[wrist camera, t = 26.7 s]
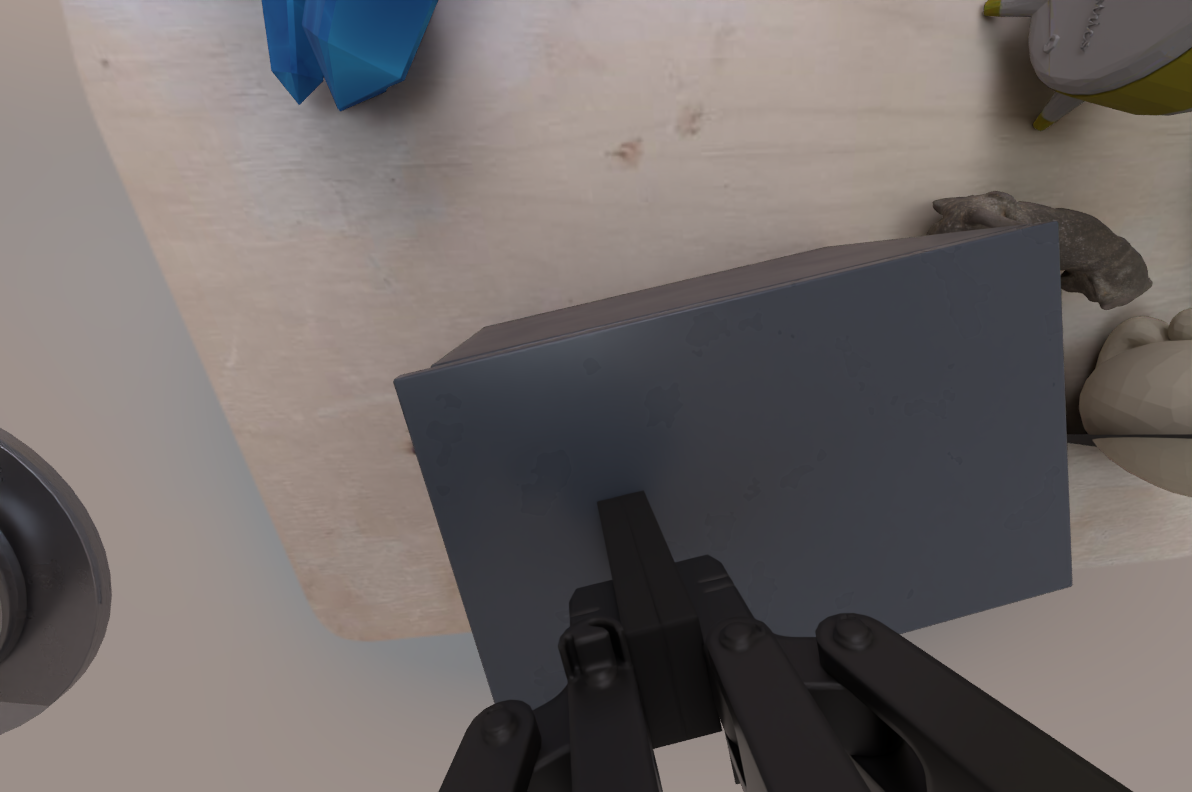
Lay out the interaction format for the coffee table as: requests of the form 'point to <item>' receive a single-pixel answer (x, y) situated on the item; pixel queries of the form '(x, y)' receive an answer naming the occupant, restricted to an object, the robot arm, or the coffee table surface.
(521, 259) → the coffee table surface
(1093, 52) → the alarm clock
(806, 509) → the dark grey box lid
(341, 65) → the crystal
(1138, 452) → the decorative object
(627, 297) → the dark grey storage box
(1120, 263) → the dog figurine
